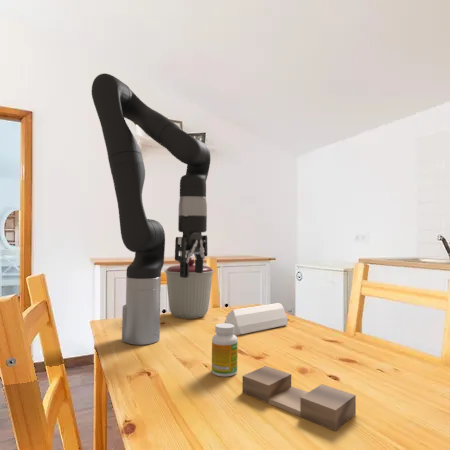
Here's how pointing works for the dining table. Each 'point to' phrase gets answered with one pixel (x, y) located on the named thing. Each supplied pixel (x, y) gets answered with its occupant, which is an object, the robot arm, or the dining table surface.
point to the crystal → (257, 318)
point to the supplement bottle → (224, 351)
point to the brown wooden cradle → (300, 397)
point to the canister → (189, 291)
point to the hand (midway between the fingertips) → (191, 275)
